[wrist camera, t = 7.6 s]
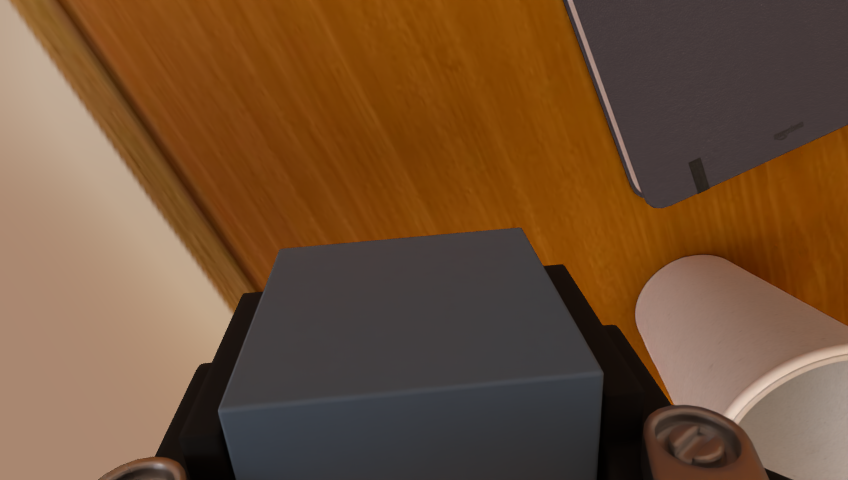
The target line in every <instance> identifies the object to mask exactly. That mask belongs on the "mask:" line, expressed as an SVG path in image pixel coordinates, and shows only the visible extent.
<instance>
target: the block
mask: <svg viewBox="0 0 848 480" xmlns="http://www.w3.org/2000/svg"><path fill="white" fill-rule="evenodd" d="M603 376H604V373H603V371H602V369H601V367H600V366H599V364H598V362H597V360H596V359H595V357H594V355H593V353H592V352H591V350H590V348H589V346H588V344H587V343H586V341H585V339H584V337H583V336H582V334H581V332H580V330H579V329H578V327H577V325H576V323H575V322H574V320H573V318H572V316H571V315H570V313H569V311H568V309H567V307H566V306H565V304H564V302H563V300H562V299H561V297H560V295H559V293H558V292H557V290H556V288H555V286H554V285H553V283H552V281H551V279H550V278H549V276H548V274H547V272H546V270H545V269H544V267H543V265H542V263H541V262H540V260H539V258H538V256H537V255H536V253H535V251H534V249H533V248H532V246H531V244H530V242H529V241H528V239H527V237H526V235H525V233H524V232H523V230H522V228H510V229H499V230H488V231H476V232H465V233H454V234H443V235H432V236H420V237H409V238H398V239H387V240H375V241H364V242H353V243H342V244H331V245H319V246H308V247H297V248H286V249H280V250H279V252H278V255H277V258H276V260H275V263H274V265H273V268H272V271H271V273H270V276H269V278H268V281H267V284H266V286H265V289H264V291H263V294H262V297H261V299H260V302H259V304H258V307H257V310H256V312H255V315H254V317H253V320H252V323H251V325H250V328H249V330H248V333H247V336H246V338H245V341H244V343H243V346H242V349H241V351H240V354H239V356H238V359H237V362H236V364H235V367H234V369H233V372H232V375H231V377H230V380H229V382H228V385H227V388H226V390H225V393H224V395H223V398H222V401H221V403H220V406H219V409H218V413H219V417H220V421H221V425H222V429H223V432H224V436H225V440H226V444H227V448H228V451H229V455H230V459H231V463H232V467H233V471H234V474H235V478H236V480H597V468H598V452H599V437H600V422H601V406H602V391H603Z"/></svg>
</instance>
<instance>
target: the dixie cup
mask: <svg viewBox="0 0 848 480" xmlns="http://www.w3.org/2000/svg"><path fill="white" fill-rule="evenodd" d="M635 319H636V324H637V328H638V330H639V332H640V334H641V336H642V338H643V341H644V344H645V346H646V348H647V350H648V352H649V354H650V356H651V359H652V361H653V362H654V364H655V366H656V368H657V370H658V372H659V374H660V376H661V378H662V380H663V382H664V384H665V386H666V389H667V391H668V393H669V395H670V397H671V399H672V401H673V403H674V405H691V406H698V407H703V408H706V409H709V410H712V411H715V412H718V413H720V414H722V415H724V416H725V417H727V418H729V419H731V420H733V421H734V422H735V423H736V424H737V425H739V426H740V427H741V428H742V429H743V430H744V431H745V432H746V433H747V435H748V436H749V438H750V439H751V441H752V443H753V445H754V447H755V449H756V451H757V454H758V456H759V458H760V460H761V462H762V465H763V467H764V468H766V469H768V470H771V471H773V472H776V473H778V474H780V475H783V476H785V477H788V478H790V479H793V480H848V326H846V325H844V324H843V323H841V322H839V321H837V320H835V319H833V318H832V317H830V316H828V315H826V314H824V313H822V312H821V311H819V310H817V309H815V308H813V307H811V306H810V305H808V304H806V303H804V302H802V301H801V300H799V299H797V298H795V297H793V296H791V295H790V294H788V293H786V292H784V291H782V290H781V289H779V288H777V287H775V286H773V285H771V284H770V283H768V282H766V281H764V280H762V279H760V278H759V277H757V276H755V275H753V274H751V273H749V272H748V271H746V270H744V269H742V268H740V267H739V266H737V265H735V264H733V263H731V262H730V261H728V260H726V259H724V258H721V257H718V256H713V255H694V256H689V257H683V258H680V259H678V260H675V261H673V262H671V263H669V264H668V265H666V266H664V267H663V268H662V269H660V270H659V271H658V272H657V273H655V274H654V275H653V276H652V277H651V278H650V280H649V281H648V282H647V283H646V285H645V286H644V288H643V289H642V291H641V293H640V295H639V298H638V301H637V304H636V310H635Z"/></svg>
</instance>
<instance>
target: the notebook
mask: <svg viewBox="0 0 848 480" xmlns="http://www.w3.org/2000/svg"><path fill="white" fill-rule="evenodd" d="M563 1H564V4H565V7H566V10H567V12H568V15H569V18H570V21H571V23H572V26H573V29H574V32H575V34H576V37H577V40H578V43H579V45H580V48H581V51H582V53H583V56H584V59H585V62H586V64H587V67H588V70H589V73H590V75H591V78H592V81H593V84H594V86H595V89H596V92H597V95H598V97H599V100H600V103H601V106H602V108H603V111H604V114H605V117H606V119H607V122H608V125H609V128H610V130H611V133H612V136H613V139H614V141H615V144H616V147H617V150H618V152H619V155H620V158H621V161H622V163H623V166H624V169H625V172H626V174H627V177H628V180H629V183H630V185H631V187H632V189H633V191H634V192H635V193H636V194H637V195H639V196H640V197H642V198H644V199H645V201H646V203H647V204H649V205H650V206H652V207H653V208H664V207H667V206H671V205H673V204H675V203H677V202H680V201H682V200H684V199H686V198H688V197H691V196H693V195H695V194H699V193H701V192H703V191H705V190H707V189H709V188H710V187H712V186H715V185H717V184H719V183H721V182H723V181H726V180H728V179H730V178H732V177H734V176H736V175H739V174H741V173H743V172H745V171H747V170H750V169H752V168H754V167H756V166H758V165H761V164H763V163H765V162H767V161H769V160H771V159H774V158H776V157H778V156H780V155H782V154H785V153H787V152H789V151H791V150H793V149H795V148H798V147H800V146H802V145H804V144H806V143H809V142H811V141H813V140H815V139H817V138H820V137H822V136H824V135H826V134H828V133H830V132H833V131H835V130H837V129H839V128H841V127H844V126H846V125H848V0H563Z"/></svg>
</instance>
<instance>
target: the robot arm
mask: <svg viewBox="0 0 848 480" xmlns="http://www.w3.org/2000/svg"><path fill="white" fill-rule="evenodd" d="M543 267H544V269H545V270H546V272H547V274H548V276H549V278H550V279H551V281H552V283H553V285H554V286H555V288H556V290H557V292H558V293H559V295H560V297H561V299H562V300H563V302H564V304H565V306H566V307H567V309H568V311H569V313H570V315H571V316H572V318H573V320H574V322H575V323H576V325H577V327H578V329H579V330H580V332H581V334H582V336H583V337H584V339H585V341H586V343H587V344H588V346H589V348H590V350H591V352H592V353H593V355H594V357H595V359H596V360H597V362H598V364H599V366H600V367H601V369H602V371H603V373H604V376H603V391H602V406H601V422H600V437H599V452H598V468H597V480H793V479H790V478H788V477H785V476H783V475H780V474H778V473H776V472H773V471H771V470H768V469H766V468H764V467H763V465H762V462H761V460H760V458H759V456H758V454H757V451H756V449H755V447H754V445H753V443H752V441H751V439H750V438H749V436H748V435H747V433H746V432H745V431H744V430H743V429H742V428H741V427H740V426H739V425H737V424H736V423H735V422H734V421H733V420H731V419H729V418H727V417H725V416H724V415H722V414H720V413H718V412H715V411H712V410H709V409H706V408H703V407H698V406H691V405H671V404H670V402H669V401H668V399H667V398H666V396H665V395H664V393H663V392H662V390H661V389H660V388H659V386H658V385H657V383H656V382H655V380H654V379H653V377H652V376H651V374H650V373H649V371H648V370H647V368H646V367H645V366H644V364H643V363H642V361H641V360H640V358H639V357H638V355H637V354H636V352H635V351H634V349H633V348H632V347H631V345H630V344H629V342H628V341H627V339H626V338H625V336H624V335H623V333H622V332H621V330H620V329H619V328H618V327H617V326H616V325H604V326H603V325H602V324H601V322H600V321H599V319H598V317H597V316H596V314H595V313H594V311H593V310H592V308H591V306H590V305H589V303H588V302H587V300H586V299H585V297H584V296H583V294H582V292H581V291H580V289H579V288H578V286H577V285H576V283H575V282H574V280H573V278H572V277H571V275H570V274H569V272H568V271H567V269H566V267H565V266H564V265H563V264H561V265H550V266H543ZM262 294H263V292H254V293H244V294H243V295H242V297H241V299H240V301H239V303H238V306H237V308H236V310H235V312H234V315H233V317H232V319H231V321H230V324H229V326H228V328H227V330H226V332H225V335H224V337H223V339H222V342H221V344H220V346H219V348H218V350H217V352H216V355H215V357H214V359H213V361H212V363H204V364H201V365H200V366H199V367H198V368H197V370H196V372H195V374H194V376H193V378H192V380H191V382H190V384H189V386H188V388H187V391H186V393H185V395H184V397H183V399H182V401H181V403H180V405H179V407H178V409H177V411H176V413H175V416H174V418H173V420H172V422H171V424H170V426H169V428H168V430H167V432H166V434H165V436H164V438H163V441H162V443H161V445H160V447H159V449H158V451H157V453H156V455H155V457H149V458H143V459H137V460H135V461H132V462H129V463H126V464H123V465H121V466H119V467H117V468H115V469H114V470H112V471H110V472H108V473H107V474H105V475H104V476H102V477H101V478H100V479H98V480H236V478H235V474H234V471H233V467H232V463H231V459H230V455H229V451H228V448H227V444H226V440H225V436H224V432H223V429H222V425H221V421H220V417H219V413H218V409H219V406H220V403H221V401H222V398H223V395H224V393H225V390H226V388H227V385H228V382H229V380H230V377H231V375H232V372H233V369H234V367H235V364H236V362H237V359H238V356H239V354H240V351H241V349H242V346H243V343H244V341H245V338H246V336H247V333H248V330H249V328H250V325H251V323H252V320H253V317H254V315H255V312H256V310H257V307H258V304H259V302H260V299H261V297H262Z"/></svg>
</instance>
